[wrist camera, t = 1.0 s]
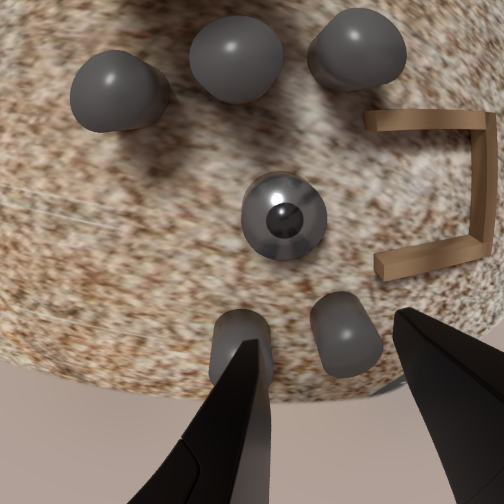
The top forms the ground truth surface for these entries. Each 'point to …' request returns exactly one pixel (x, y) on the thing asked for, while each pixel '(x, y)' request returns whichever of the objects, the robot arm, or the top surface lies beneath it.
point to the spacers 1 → (237, 67)
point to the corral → (481, 201)
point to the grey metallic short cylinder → (283, 216)
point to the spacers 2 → (324, 329)
